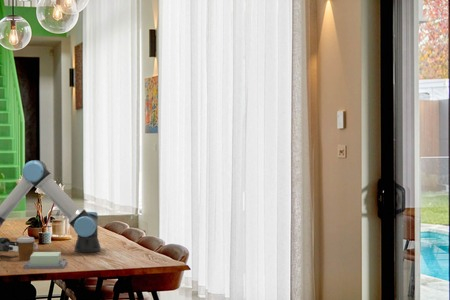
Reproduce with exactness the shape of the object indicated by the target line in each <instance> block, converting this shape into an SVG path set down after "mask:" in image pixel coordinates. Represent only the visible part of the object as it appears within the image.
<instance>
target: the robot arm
mask: <svg viewBox="0 0 450 300" xmlns="http://www.w3.org/2000/svg"><path fill="white" fill-rule="evenodd" d="M21 174H22V178H21V180H20V181H18V183H17V184H16V186H14V188H13V189H12V190H11V192H9V194H8V195H7V197H6V198H5V199H4V200H3V202H2V203H1V204H0V228H1V227H2V226H3V224H4V222H6V220H7V219H8V217H9V216H10V215H11V213H12V212H13V211H14V210H15V208H17V206H18V205H19V204H20V203H21V201H22V200H23V199H24V197H26V195H27V194H28V193H29V191H30V190H31V189H32V188H33V187H34V188H35V189H40V190H41V192H42V193H44V194H45V195H46V197H47V198H48V199H49V200H50V201H51V202H52V203H53V204H54V205H55V206H56V208H57V209H58V210H59V211H60V212H61V213H62V214H64V216H65V217H66V218H67V219H68V224H69V226H70V227H72V228H73V230H74V232H75V234H76V235H77V240H76V241H75V245H74V250H73V251H74V252H76V253H87V254H88V253H98V252H101V243H100V241H99V237H98V231H99V230H98V229H99V225H98V222H99V221H98V220H99V219H98V218H99V216H98V212H97V211H86V209H85V208H80V207H79V206H78V205H77V204H76V203H75V201H73V200H72V198H71V197H70V196H69V195H68V194H67V193H66V192H65V191H64V190H63V189H62V188H61V187H60V186H59V185H58V183H57V182H56V181H55V180H54V179H53V178H52V173H51V172H50V171H49V170H48V168H47V165H46V164H45V163H44V162H43V161H41V160H38V159H34V160H30V161H29V160H28V161H27V162H26V163H25V164H24V166H23V167H22V173H21ZM38 246H39V245H38V243H36V242H34V245H33V249H35V250H36V249H37V250H38ZM0 252H3V253H4V252H6V253H9V252H18V253H19V249H18V242H17V240H16V241H13V240H11V239H9V238H8V237H2V236H0Z"/></svg>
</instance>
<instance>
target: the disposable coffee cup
mask: <svg viewBox="0 0 450 300" xmlns="http://www.w3.org/2000/svg"><path fill="white" fill-rule="evenodd" d="M16 239H17V240H16V241H17V242H18V254H19V255H18V257H19V261H22V262H23V261H25V262H27V261H28V260H30V256H31V255H32V254H33V253H34V251H33V250H34V248H33V245H34V243H35V241H36V239H35V237H33V236H22V237H21V236H19V237H17V238H16Z"/></svg>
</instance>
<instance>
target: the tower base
mask: <svg viewBox="0 0 450 300" xmlns="http://www.w3.org/2000/svg"><path fill="white" fill-rule="evenodd" d="M67 263H68V259H67V258H62V252H61V251H33V253H32V255H31V256H30V260H28V261H25V263H24V264H23V266H22V268H23V270H27V269H28V270H45V269H46V270H47V269H53V270H54V269H55V270H56V269H58V270H59V269H61V270H62V269H65V267H66V265H67Z"/></svg>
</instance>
